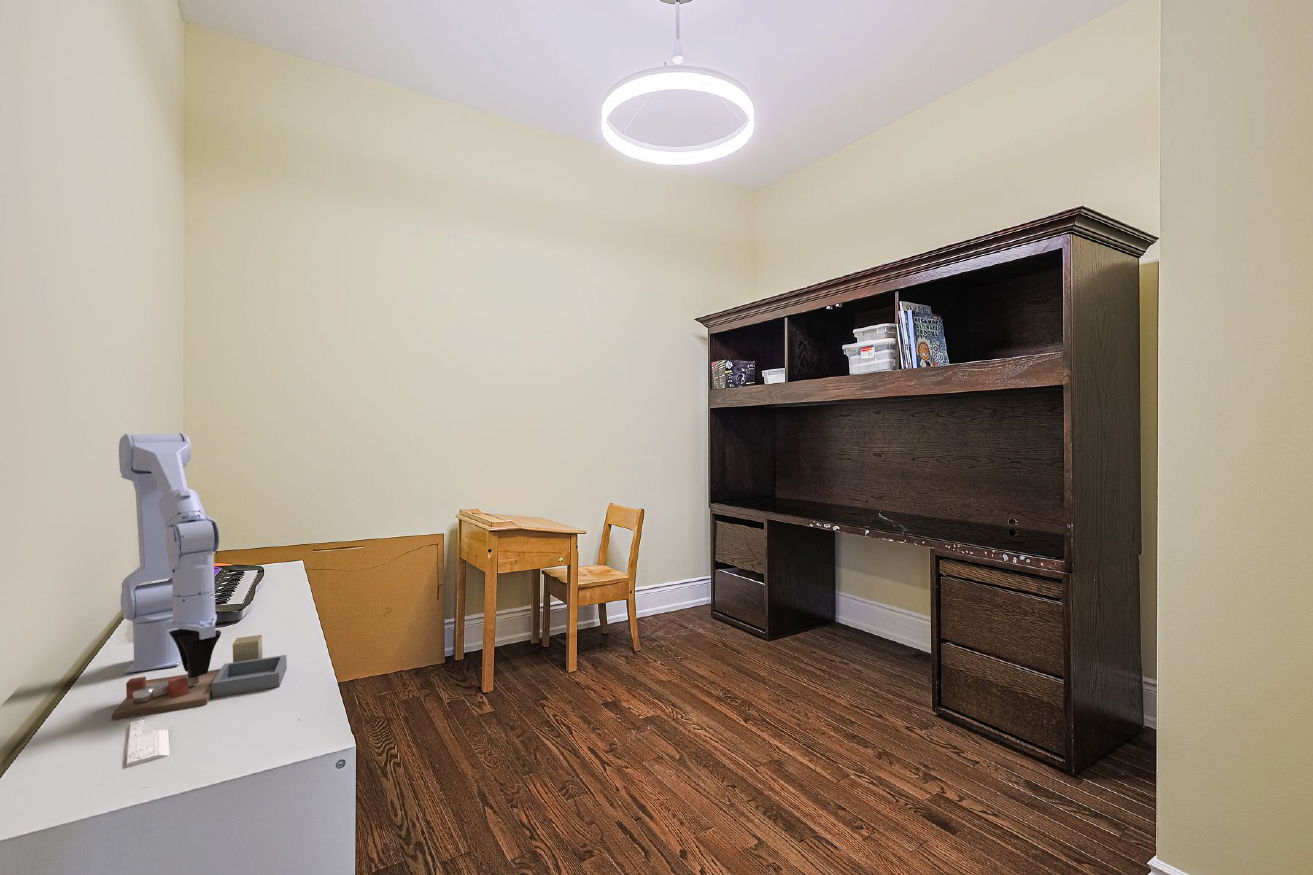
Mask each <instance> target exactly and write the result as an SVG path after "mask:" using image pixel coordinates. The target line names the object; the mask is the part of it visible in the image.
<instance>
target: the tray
mask: <svg viewBox="0 0 1313 875" xmlns="http://www.w3.org/2000/svg"><path fill="white" fill-rule="evenodd" d="M287 665H288V663H287V654H283V655H277V656H276V655H275V656H271V657H262V658H261V659H254V660H247V661H241V662H234V663H233V662H227V663H224V664H223V665H222V667H221V668H220V669H221V670H220V671H219V673H218V674H217V676H216V677H215V679H214V681H213V682H212V697H211V699H213V698H218V697H226V696H231V695H239V694H244V693H249V692H256V691H261V690H269V689H274V688H280V687H281V684H282V680H283V678H284V676H285V673H286V670H287Z"/></svg>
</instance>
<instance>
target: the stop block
mask: <svg viewBox="0 0 1313 875" xmlns="http://www.w3.org/2000/svg"><path fill="white" fill-rule="evenodd" d="M262 638H263V637H262V634H257V635H249V636H243V637H236V639H235V640H234V642H233V643H232V663H234V662H241V661H247V660H254V659H261V658H263V640H262Z"/></svg>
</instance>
